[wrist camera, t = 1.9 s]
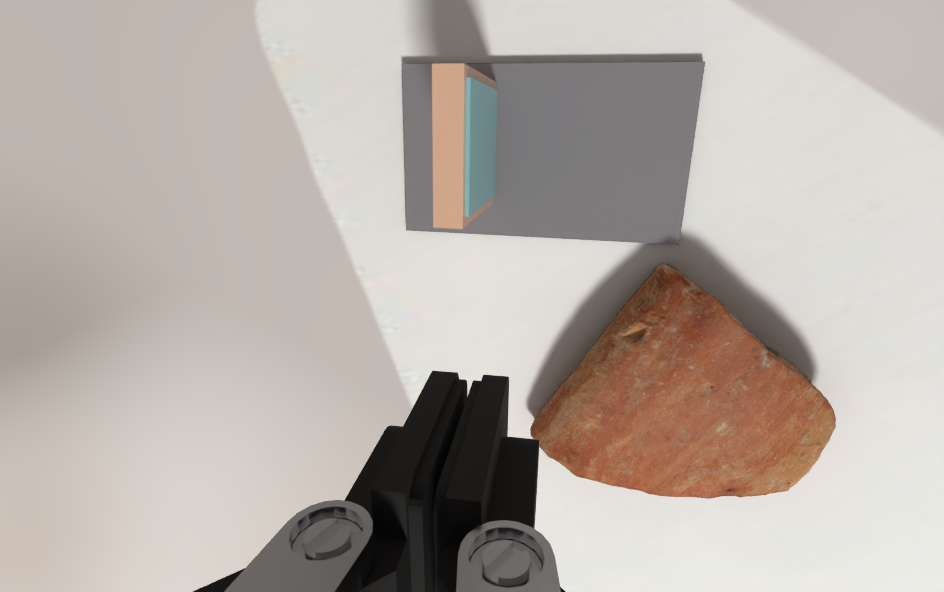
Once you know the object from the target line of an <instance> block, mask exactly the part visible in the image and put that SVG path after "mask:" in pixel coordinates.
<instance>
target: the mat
mask: <svg viewBox="0 0 944 592" xmlns="http://www.w3.org/2000/svg"><path fill="white" fill-rule="evenodd" d="M466 65H468V66H470V67H471V68H473V69H475V70H477V71H478V72H480V73H482V74H483V75H485V76H487V77H488V78H490V79H492V80H494V81H495V82H496V90H497V91H498V98H497V133H496V169H495V196H494V197H493V203H492V204H491V205H490V206H489V207H488V208H487V209H485V210H484V211H483V212H482V213H481V214H480V215H478V216H477V217H476V218H475V219H474V220H473V221H472V222H470V223H469V224H468V225H467V226H466V227H465V228H463V229H451V228H433V135H432V64H402V87H403V126H404V166H405V205H406V230H411V231H430V232H449V233H468V234H487V235H506V236H525V237H544V238H563V239H582V240H601V241H620V242H639V243H657V244H676V245H679V241H680V234H681V227H682V220H683V213H684V206H685V199H686V192H687V185H688V178H689V171H690V164H691V157H692V150H693V143H694V136H695V129H696V122H697V115H698V108H699V101H700V94H701V87H702V80H703V73H704V66H705V62H601V63H466Z"/></svg>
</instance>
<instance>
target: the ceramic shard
mask: <svg viewBox="0 0 944 592" xmlns="http://www.w3.org/2000/svg"><path fill="white" fill-rule="evenodd" d="M835 422H836V418H835V414H834V410H833V408H832V406H831V405H830V403H829V402H828V400H827V399H826V398H825V397H824V396H823V395H822V393H821V392H820V391H819V390H818V389H817V388H816V387H815V386H813V385H812V384H811V381H810V380H809V379H808V378H807V377H806V376H805V375H804V374H803V373H802V372H800V371H799V370H798V369H797V368H796V367H795V366H794V365H792V364H790V363H789V362H788V361H787V360H785V359H784V358H782V356H781V355H780V354H779V353H777V352H776V351H774V350H772V349H770V348H768V347H766V346H765V345H763V343H762V342H761V341H759V339H758V338H757V337H756V336H755V335H753V334H752V333H751V332H749V331H748V330H747V329H746V328H745V327H744V326H743V325H742V324H741V322H740V321H739V320H738V319H737V318H736V317H735V316H733V315H732V314H731V313H730V312H729V311H728V310H727V309H726V308H725V307H724V306H723V305H722V304H721V303H720V301H719V300H718V299H716V298H714V297H713V296H711V295H709V294H708V293H706V292H705V291H703V290H702V289H700V288H698V287H697V286H695V285H694V284H693V283H692V282H691V280H690V279H689V278H688V277H686V276H685V275H684V274H682V273H680V272H679V271H678V270H677V269H675V268H673V267H671V266H669V265H667V264H660V265H659V266H658V267H657V268H656V270H655V271H654V272H653V273H652V274H651V275H650V277H649V278H648V279H647V280H646V281H645V282H644V284H643V285H642V286H641V287H640V288H639V289H638V291H637V292H636V293H635V294H634V295H633V297H632V298H631V299H630V300H629V301H628V302H627V304H626V305H625V306H624V307H623V308H622V309H621V311H620V312H619V313H618V314H617V316H616V317H615V318H614V320H613V321H612V322H611V323H610V324H609V325H608V327H607V328H606V330H605V331H604V332H603V334H602V335H601V336H600V338H599V339H598V340H597V342H596V343H595V345H594V346H593V347H591V348H590V349H589V351H588V352H587V353H586V355H585V356H584V357H583V359H582V360H581V362H580V364H579V365H578V367H577V368H576V370H575V371H574V372H573V373H572V374H571V375H570V376H569V377H568V379H567V380H566V381H564V382H563V384H562V385H561V386H560V387H559V389H558V390H557V391H556V392H555V394H554V395H553V396H552V397H551V399H550V400H549V401H548V403H547V404H546V405H545V406H544V408H543V409H542V410H541V411H540V413H539V414H538V416H537V417H536V418H535V420H534V422H533V424H532V426H531V429H530V430H531V436H532V438H533V439H535V440H539V447H540V448H541V449H542V450H543V451H544V452H545V453H546V454H547V455H548V456H549V457H550V458H552V459H554V460H556V461H558V462H559V463H560V464H562V465H563V466H564V467H566V468H567V469H568V470H569V471H570V472H572V473H573V474H574V475H576V476H578V477H581V478H586V479H589V480H594V481H598V482H601V483H604V484H608V485H612V486H619V487H624V488H628V489H634V490H639V491H643V492H645V493H648V494H654V495H659V496H670V497H699V498H715V497H720V496H738V497H744V496H759V495H766V494H770V493H776V492H783V491H788V490H789V489H790V487H792V486H794V485H795V484H796V483H797V482H798V481H799V480H800V479H801V478H802V477H803V476H804V475H806V474H807V473H808V472H809V471H810V469H811V468H812V466H813V465H814V464H815V462H816V461H817V460H818V459H819V457H820V454H821V452H822V450H823V449H824V447H825V446H826V444H827V443H828V441H829V440H830V437H831V435H832V433H833V431H834V429H835Z"/></svg>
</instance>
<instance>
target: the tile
mask: <svg viewBox="0 0 944 592" xmlns="http://www.w3.org/2000/svg"><path fill="white" fill-rule="evenodd" d="M497 98H498V91H497V90H496V82H495V81H494V80H492V79H490V78H488V77H487V76H485V75H483V74H482V73H480V72H478V71H477V70H475V69H473V68H471V67H470V66H468V65H466V64H465V63H434V64H432V135H433V228H451V229H463V228H465V227H466V226H467V225H468V224H469V223H470V222H472V221H473V220H474V219H475V218H476V217H477V216H478V215H480V214H481V213H482V212H483V211H484V210H485V209H487V208H488V207H489V206H490V205H491V204H492V203H493V197H494V196H495V169H496V133H497Z"/></svg>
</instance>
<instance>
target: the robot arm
mask: <svg viewBox="0 0 944 592" xmlns="http://www.w3.org/2000/svg"><path fill="white" fill-rule="evenodd" d="M508 397H509V377H505V376H492V375H483V377H482V381H473V383H472V386H471V389H470V392H469V394H468V397H467V381H466V380H460V379H459V376H458V373H454V372H441V371H432V373H431V374H430V376H429V378H428V380H427V382H426V384H425V386H424V388H423V390H422V392H421V394H420V395H419V397H418V399H417V401H416V403H415V405H414V407H413V409H412V411H411V413H410V415H409V416H408V418H407V420H406V422H405V424H404V426H403V427H400V426H388V427H387V428H386V430H385V431H384V433H383V435H382V436H381V438H380V440H379V442H378V444H377V445H376V447H375V448H374V451H373V452H372V454H371V456H370V457H369V459H368V461H367V462H366V464H365V466H364V468H363V469H362V471H361V473H360V474H359V476H358V478H357V480H356V482H355V483H354V485H353V487H352V489H351V490H350V492H349V494H348V496H347V497H346V499H345V500H344V501H342V500H334V501H325V502H321V503H318V504H315V505H311V506H309V507H307V508H306V509H304V510H302V511H300V512H299V513H297V514H296V515H295V516H294V517H293V518H291V519H290V520H289V521H288V522H287V523H286V524H285V525H284V526H283V527H282V528H281V530H280V531H279V532H278V533H277V534H276V535H275V536H274V537H273V538H272V539H271V541H270V542H269V543H268V544H267V545H266V546H265V547H264V548H263V549H262V550H261V552H260V553H259V554H258V555H257V556H256V557H255V558H254V559H253V560H252V562H251V563H250V564H249V565H248V566H247V567H246V568H245V569H242V570H240V571H238V572H236V573H234V574H231V575H229V576H227V577H225V578H222V579H220V580H218V581H216V582H213V583H211V584H209V585H207V586H204V587H202V588H200V589H198V590H196V591H193V592H565V591H564V590H563V589H562V588H561V587H560V584H559V578H558V572H557V567H556V561H555V556H554V553H553V550H552V548H551V545H550V543H549V542H548V541H547V540H546V539H545V537H544V536H543V535H542V534H541V533H539V532H538V531H536V530H535V529H534V526H535V510H536V494H537V476H538V457H539V440H535V439H525V438H515V437H507V431H508Z"/></svg>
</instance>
